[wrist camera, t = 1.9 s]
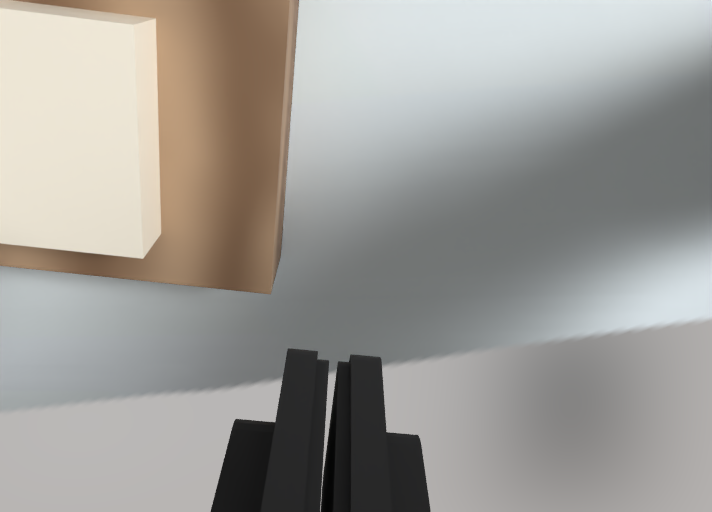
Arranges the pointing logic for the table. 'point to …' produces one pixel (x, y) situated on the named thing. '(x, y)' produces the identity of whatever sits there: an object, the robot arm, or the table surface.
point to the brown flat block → (207, 145)
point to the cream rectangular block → (78, 130)
